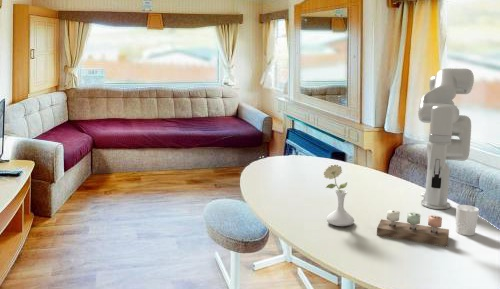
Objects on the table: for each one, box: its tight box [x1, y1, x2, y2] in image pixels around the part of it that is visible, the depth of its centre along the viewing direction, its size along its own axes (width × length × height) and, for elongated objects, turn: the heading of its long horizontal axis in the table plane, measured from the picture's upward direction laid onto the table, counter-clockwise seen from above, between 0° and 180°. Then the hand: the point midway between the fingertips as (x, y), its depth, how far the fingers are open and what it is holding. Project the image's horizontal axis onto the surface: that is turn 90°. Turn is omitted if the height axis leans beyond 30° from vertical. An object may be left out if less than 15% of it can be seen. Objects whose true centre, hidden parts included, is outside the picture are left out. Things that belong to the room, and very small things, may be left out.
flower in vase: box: [323, 164, 355, 227], centre depth 177 cm, size 13×11×25 cm
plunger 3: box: [427, 215, 443, 233], centre depth 163 cm, size 5×5×7 cm
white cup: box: [455, 204, 480, 237], centre depth 170 cm, size 8×8×10 cm
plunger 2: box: [406, 212, 421, 230], centre depth 166 cm, size 5×5×7 cm
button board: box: [376, 218, 450, 247], centre depth 167 cm, size 25×10×3 cm, turn 65°
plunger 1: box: [386, 209, 401, 227], centre depth 169 cm, size 5×5×7 cm
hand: (435, 187), depth 163 cm, fingers closed
